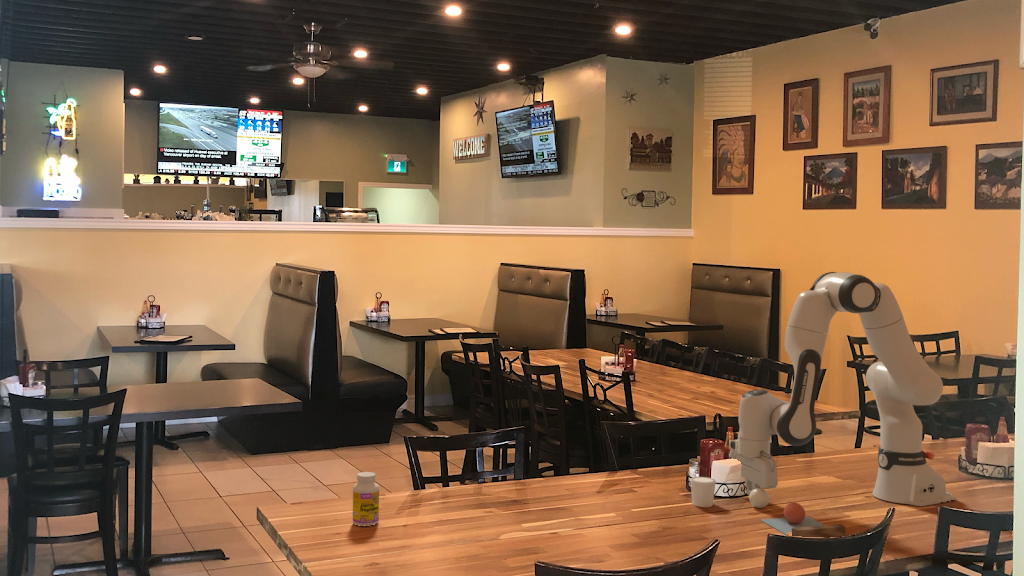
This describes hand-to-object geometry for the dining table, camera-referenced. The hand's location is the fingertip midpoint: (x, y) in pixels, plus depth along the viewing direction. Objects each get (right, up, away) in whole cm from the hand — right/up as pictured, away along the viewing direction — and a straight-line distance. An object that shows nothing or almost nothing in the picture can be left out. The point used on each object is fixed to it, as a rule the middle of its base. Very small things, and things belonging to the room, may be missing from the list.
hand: (752, 496), depth 257 cm
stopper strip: (+8, -3, -30) cm, 32 cm away
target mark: (+6, -3, -22) cm, 23 cm away
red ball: (+6, 0, -20) cm, 20 cm away
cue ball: (0, +1, -6) cm, 6 cm away
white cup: (-15, -2, -3) cm, 15 cm away
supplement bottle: (-105, -2, -24) cm, 108 cm away
